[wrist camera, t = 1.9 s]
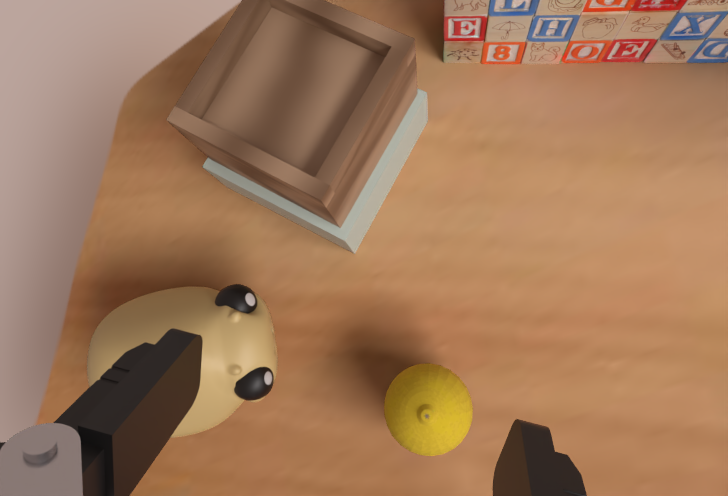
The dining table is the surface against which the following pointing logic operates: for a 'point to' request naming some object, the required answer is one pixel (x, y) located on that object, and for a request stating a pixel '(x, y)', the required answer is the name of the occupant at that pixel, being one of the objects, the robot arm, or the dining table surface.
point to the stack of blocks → (585, 31)
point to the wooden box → (300, 100)
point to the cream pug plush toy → (219, 350)
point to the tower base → (367, 200)
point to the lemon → (428, 409)
